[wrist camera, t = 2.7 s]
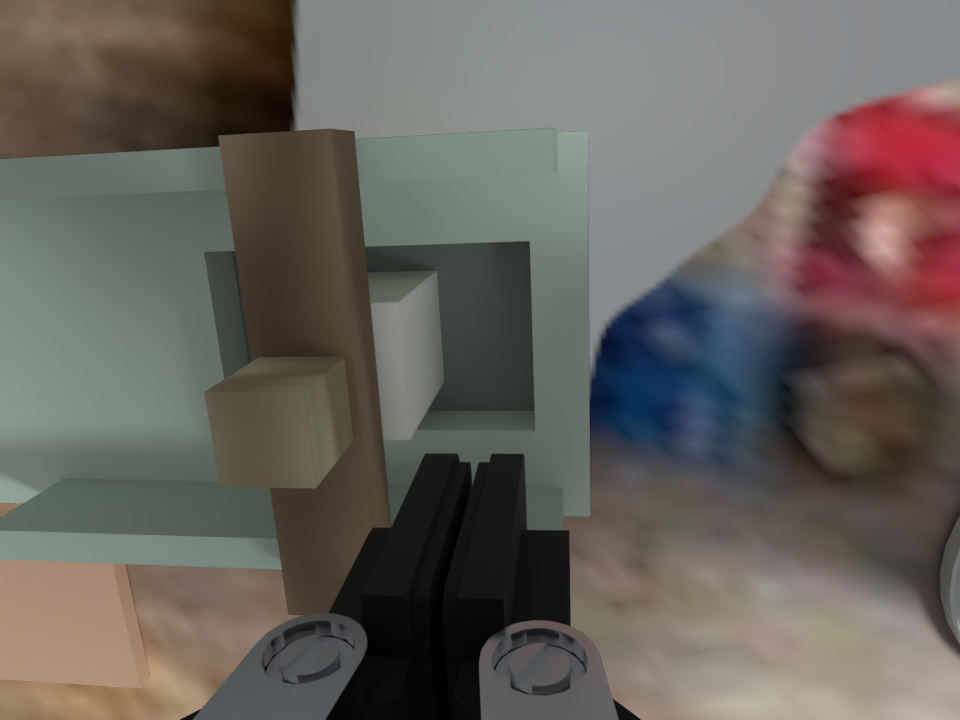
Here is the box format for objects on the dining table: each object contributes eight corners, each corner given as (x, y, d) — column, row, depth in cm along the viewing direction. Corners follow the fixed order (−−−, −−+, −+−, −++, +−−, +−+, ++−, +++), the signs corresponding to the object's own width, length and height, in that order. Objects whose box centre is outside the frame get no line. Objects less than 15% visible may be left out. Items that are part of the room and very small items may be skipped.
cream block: (437, 270, 27) (398, 302, 21) (444, 381, 28) (409, 440, 22) (325, 273, 27) (258, 305, 22) (337, 382, 29) (276, 439, 23)
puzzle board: (587, 132, 25) (589, 125, 19) (589, 486, 29) (592, 581, 22) (-50, 167, 29) (-229, 172, 22) (28, 476, 33) (-105, 555, 26)
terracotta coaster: (119, 535, 33) (108, 545, 32) (149, 676, 35) (140, 688, 34) (-31, 531, 34) (-45, 540, 33) (8, 667, 36) (-4, 678, 35)
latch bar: (354, 131, 19) (281, 123, 15) (396, 580, 23) (349, 689, 19) (252, 137, 20) (149, 132, 15) (311, 577, 24) (245, 683, 19)
